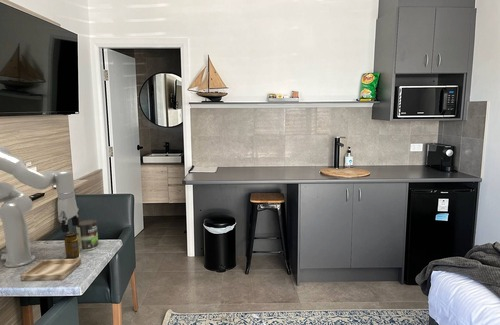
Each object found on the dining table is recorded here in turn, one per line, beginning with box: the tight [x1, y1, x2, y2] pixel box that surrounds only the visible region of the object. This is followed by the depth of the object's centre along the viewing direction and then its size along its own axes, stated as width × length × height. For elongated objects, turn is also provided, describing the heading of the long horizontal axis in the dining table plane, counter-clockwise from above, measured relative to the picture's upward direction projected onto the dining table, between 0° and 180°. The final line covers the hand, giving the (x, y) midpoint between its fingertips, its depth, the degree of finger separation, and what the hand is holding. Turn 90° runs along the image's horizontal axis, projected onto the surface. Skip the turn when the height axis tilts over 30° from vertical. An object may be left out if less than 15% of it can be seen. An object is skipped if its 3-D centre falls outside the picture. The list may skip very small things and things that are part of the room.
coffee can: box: [75, 219, 100, 252], centre depth 185 cm, size 10×10×14 cm
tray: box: [20, 258, 82, 282], centre depth 158 cm, size 18×16×2 cm
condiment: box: [63, 232, 82, 259], centre depth 173 cm, size 7×8×12 cm
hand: (70, 228), depth 171 cm, fingers open, 9 cm apart
